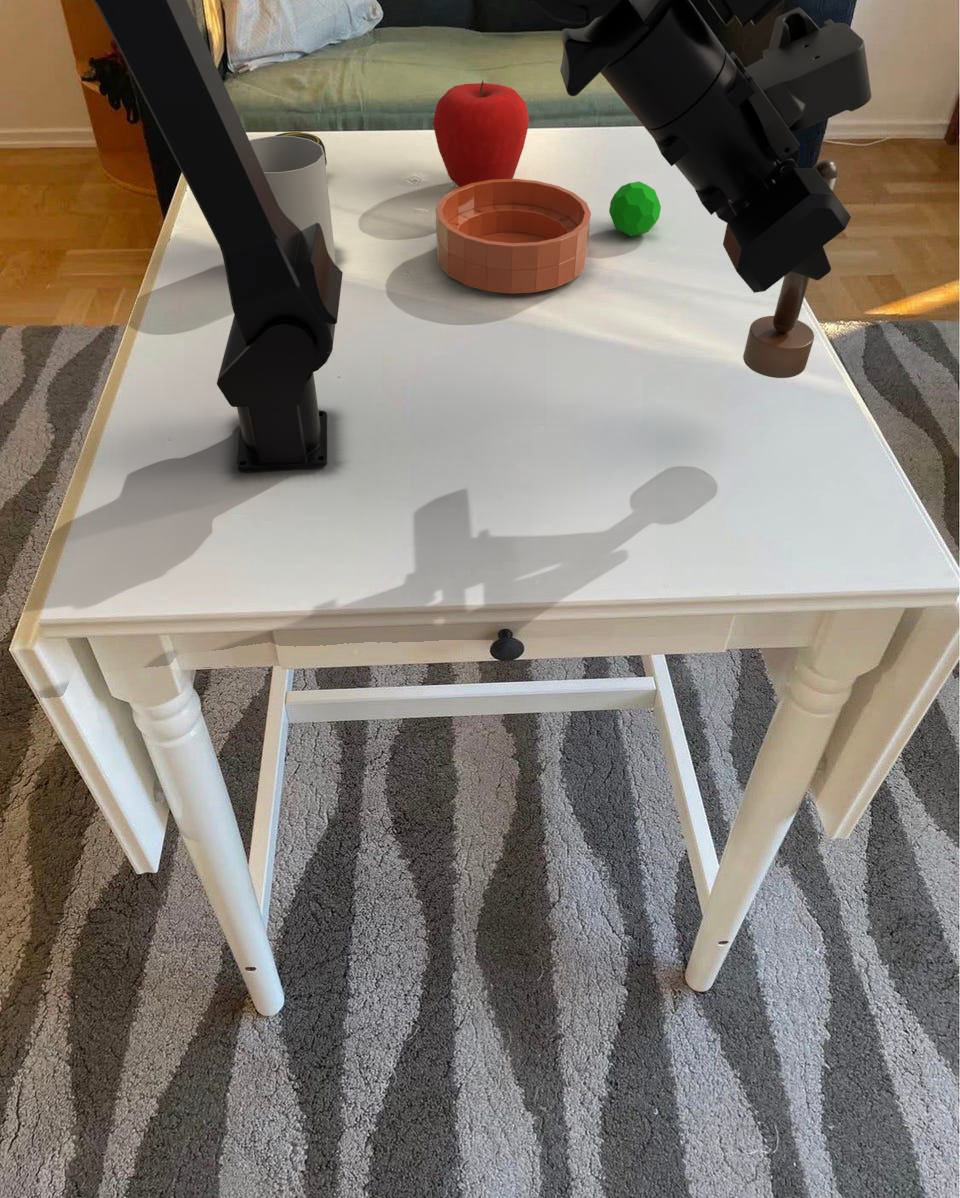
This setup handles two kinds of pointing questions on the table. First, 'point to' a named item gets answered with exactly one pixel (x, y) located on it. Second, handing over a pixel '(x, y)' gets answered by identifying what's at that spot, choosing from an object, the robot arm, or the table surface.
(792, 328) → the brown joystick
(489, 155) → the apple
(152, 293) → the table surface
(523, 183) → the bowl
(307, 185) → the cup
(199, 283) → the table surface
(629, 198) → the polyhedron
